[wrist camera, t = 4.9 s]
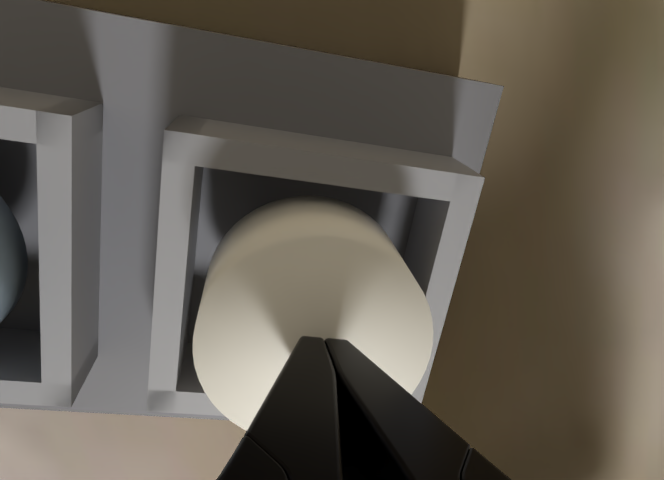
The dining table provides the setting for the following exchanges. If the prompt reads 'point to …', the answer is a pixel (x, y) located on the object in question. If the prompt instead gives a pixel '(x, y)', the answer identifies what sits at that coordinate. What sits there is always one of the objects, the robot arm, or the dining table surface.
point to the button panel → (198, 186)
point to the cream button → (304, 300)
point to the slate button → (11, 260)
